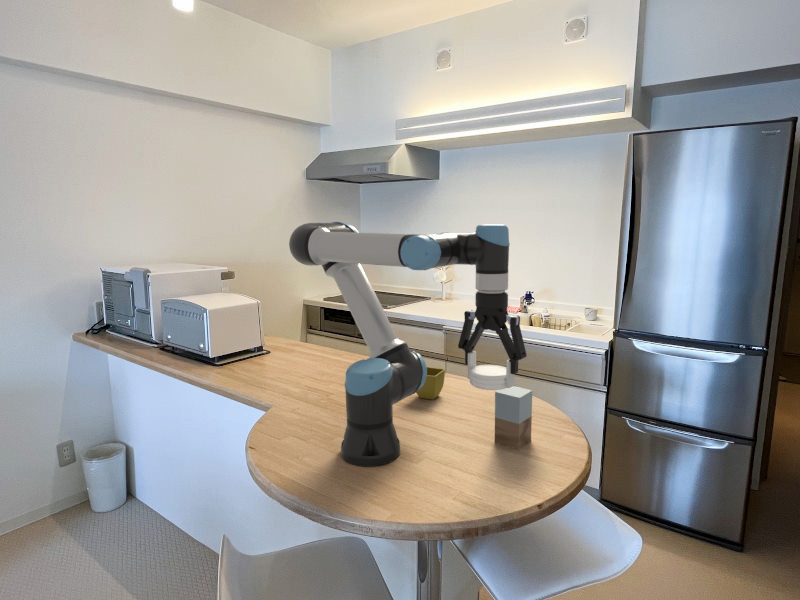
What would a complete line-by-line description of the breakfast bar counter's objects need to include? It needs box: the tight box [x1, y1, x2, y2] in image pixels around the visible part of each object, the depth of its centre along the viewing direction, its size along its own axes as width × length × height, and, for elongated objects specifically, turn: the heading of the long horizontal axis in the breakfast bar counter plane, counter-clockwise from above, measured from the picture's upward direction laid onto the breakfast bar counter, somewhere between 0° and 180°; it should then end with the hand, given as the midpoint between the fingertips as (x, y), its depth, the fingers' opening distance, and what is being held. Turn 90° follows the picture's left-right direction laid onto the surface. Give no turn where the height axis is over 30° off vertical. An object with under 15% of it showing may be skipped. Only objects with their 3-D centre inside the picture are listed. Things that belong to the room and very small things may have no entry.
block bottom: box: [494, 415, 533, 451], centre depth 128 cm, size 7×7×7 cm
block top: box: [494, 385, 533, 424], centre depth 127 cm, size 7×7×7 cm
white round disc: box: [469, 364, 506, 391], centre depth 117 cm, size 10×10×4 cm
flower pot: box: [415, 366, 446, 400], centre depth 162 cm, size 9×9×9 cm
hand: (490, 381), depth 117 cm, fingers closed on white round disc, 10 cm apart
